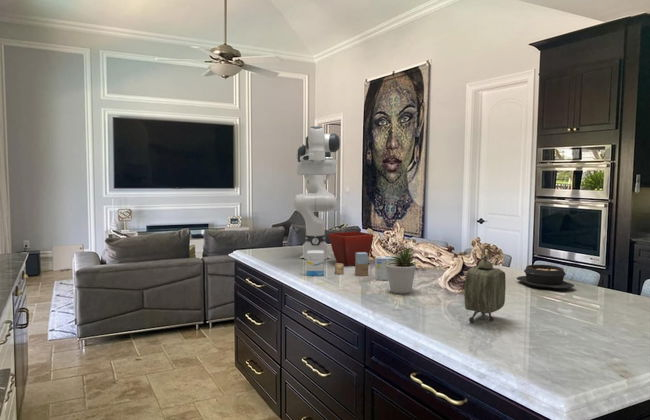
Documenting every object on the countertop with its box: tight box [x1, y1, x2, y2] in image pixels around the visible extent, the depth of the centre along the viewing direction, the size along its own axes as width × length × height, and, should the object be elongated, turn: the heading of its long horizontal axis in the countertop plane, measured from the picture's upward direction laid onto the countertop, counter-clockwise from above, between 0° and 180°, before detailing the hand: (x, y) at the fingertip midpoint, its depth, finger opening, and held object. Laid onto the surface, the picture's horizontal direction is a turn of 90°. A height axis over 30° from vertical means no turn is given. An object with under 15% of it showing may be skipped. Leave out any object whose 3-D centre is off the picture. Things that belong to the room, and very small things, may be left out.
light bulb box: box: [374, 255, 398, 281], centre depth 228 cm, size 11×7×11 cm, turn 84°
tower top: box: [356, 252, 369, 265], centre depth 237 cm, size 5×5×5 cm
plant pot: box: [328, 231, 374, 267], centre depth 268 cm, size 19×19×17 cm
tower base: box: [354, 262, 369, 277], centre depth 238 cm, size 6×6×6 cm
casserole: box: [516, 264, 575, 290], centre depth 212 cm, size 25×19×8 cm
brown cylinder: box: [334, 262, 345, 275], centre depth 241 cm, size 4×4×5 cm
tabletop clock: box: [463, 247, 507, 323], centre depth 162 cm, size 14×9×25 cm, turn 141°
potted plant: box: [386, 244, 419, 295], centre depth 203 cm, size 13×14×20 cm
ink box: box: [306, 250, 325, 277], centre depth 239 cm, size 8×8×12 cm
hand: (316, 183), depth 250 cm, fingers open, 8 cm apart
